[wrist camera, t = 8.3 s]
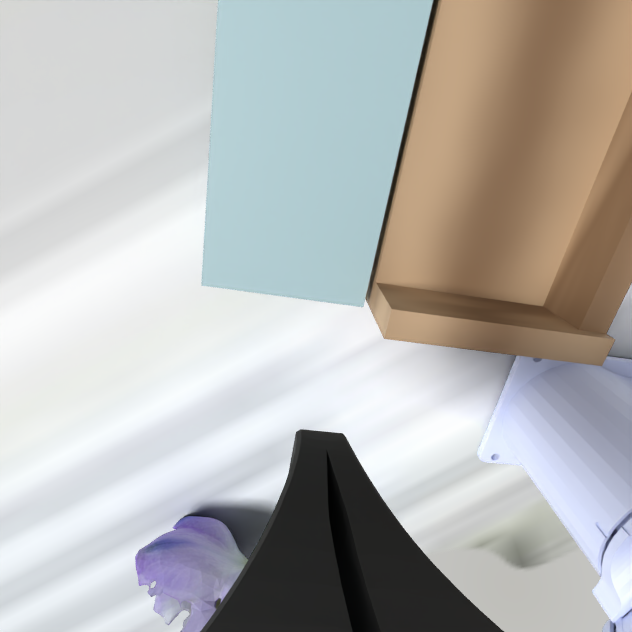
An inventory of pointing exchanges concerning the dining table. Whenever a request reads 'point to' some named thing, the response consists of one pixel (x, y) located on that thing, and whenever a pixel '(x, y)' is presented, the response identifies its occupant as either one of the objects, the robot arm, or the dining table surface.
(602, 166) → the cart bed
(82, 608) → the dining table surface
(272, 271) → the light blue panel
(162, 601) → the flower
